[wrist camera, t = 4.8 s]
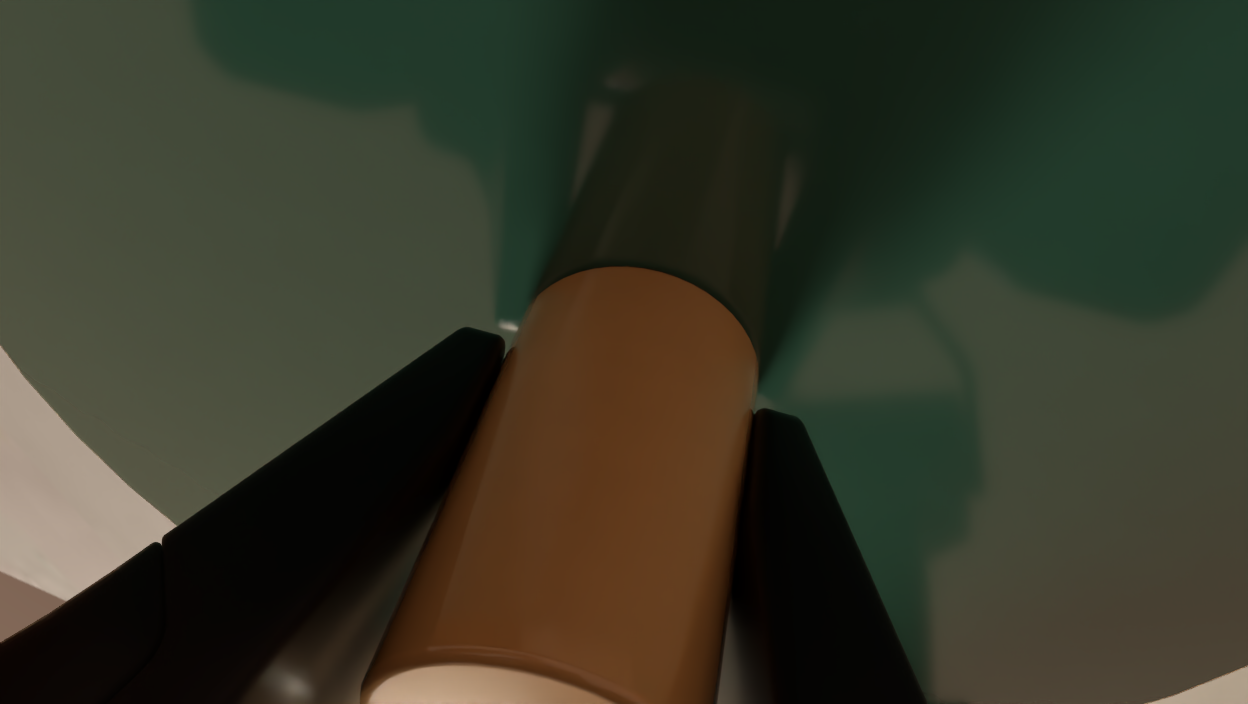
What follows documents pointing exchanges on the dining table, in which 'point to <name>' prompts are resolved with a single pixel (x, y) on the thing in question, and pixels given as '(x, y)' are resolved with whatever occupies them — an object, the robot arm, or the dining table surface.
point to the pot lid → (676, 307)
